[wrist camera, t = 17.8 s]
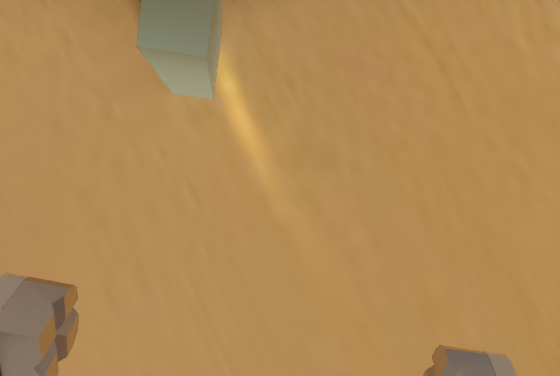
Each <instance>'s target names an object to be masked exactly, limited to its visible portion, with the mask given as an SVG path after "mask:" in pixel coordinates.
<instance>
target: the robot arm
mask: <svg viewBox="0 0 560 376" xmlns="http://www.w3.org/2000/svg"><path fill="white" fill-rule="evenodd" d="M77 299H78V294H77V287H76V286H74V285H71V284H65V283H60V282H55V281H49V280H44V279H39V278H34V277H25V276H20V275H15V274H10V273H5V274H3V275H1V276H0V376H57V375H58V362H59V361H61V360H62V359H64V358H66V357H67V356H68V354H69V352H70V350H71V348H72V347H73V344H74V341H75V338H76V335H77V330H78V323H79V317H78V313H77V312H76V310H75V309H74V308H73V306H74V305H75V303H76V301H77ZM432 359H433V363H434V365H433V366H432V367H430V368H428V369H427V370H425V373H424V375H423V376H517V374H516V372H515V370H514V367H513V365H512V363H511V361H510V359H509V358H508V357H507V356H506V355H503V354H496V353H489V352H481V351H476V350H469V349H463V348H456V347H450V346H443V345H439V346H438V347H437V348H436V349H435V351H434V353H433V355H432Z"/></svg>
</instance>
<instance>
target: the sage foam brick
mask: <svg viewBox="0 0 560 376" xmlns="http://www.w3.org/2000/svg"><path fill="white" fill-rule="evenodd" d="M221 34H222V8H221V0H142V1H141V10H140V18H139V27H138V35H137V44H136V46H137V48H138V49H139V50H140V52H141V53H142V54H143V56H144V57H145V58H146V60H147V61H148V62H149V64H150V65H151V66H152V67H153V69H154V70H155V71H156V73H157V74H158V75H159V77H160V78H161V79H162V81H163V82H164V83H165V84H166V86H167V87H168V88H169V90H170V91H171V92H172V94H177V95H184V96H190V97H197V98H204V99H211V100H213V98H214V90H215V82H216V74H217V66H218V58H219V50H220V42H221Z"/></svg>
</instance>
